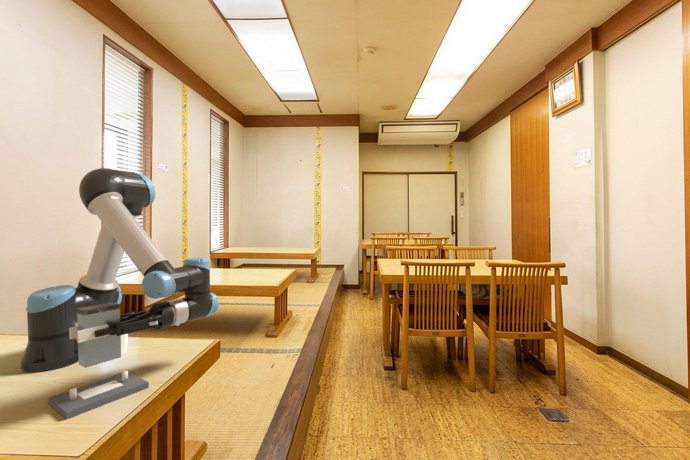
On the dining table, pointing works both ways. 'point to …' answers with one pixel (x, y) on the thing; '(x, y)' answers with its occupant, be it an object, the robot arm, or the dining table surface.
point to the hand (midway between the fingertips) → (74, 335)
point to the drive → (103, 346)
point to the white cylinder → (124, 343)
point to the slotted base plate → (96, 394)
